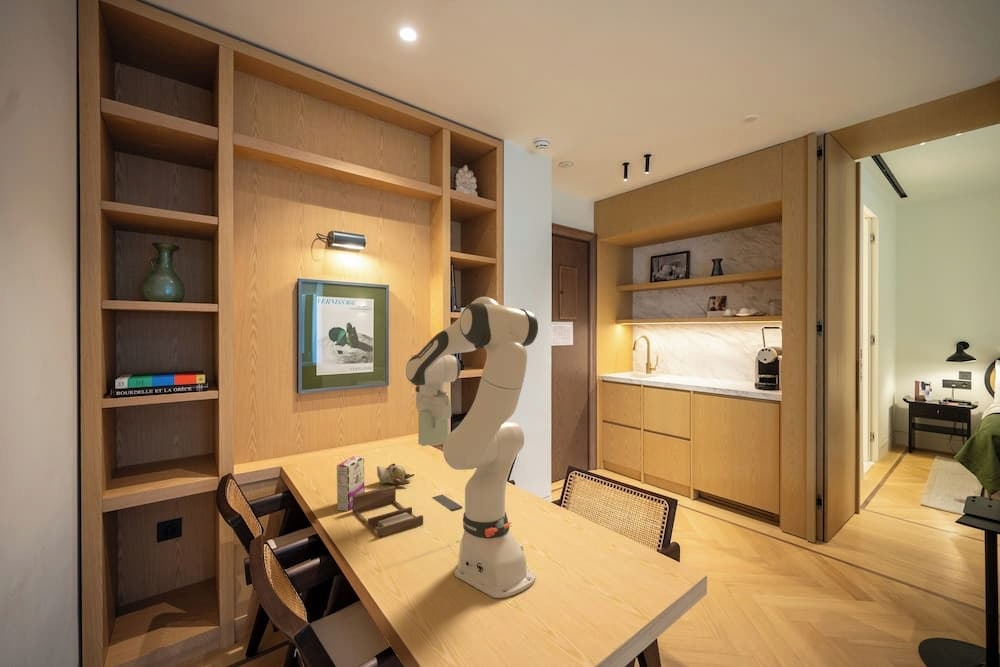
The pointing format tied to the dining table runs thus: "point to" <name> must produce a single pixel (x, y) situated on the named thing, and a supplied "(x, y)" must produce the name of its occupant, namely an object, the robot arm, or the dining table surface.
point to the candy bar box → (349, 482)
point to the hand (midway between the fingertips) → (433, 427)
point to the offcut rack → (378, 500)
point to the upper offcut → (394, 519)
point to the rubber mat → (447, 502)
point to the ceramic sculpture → (393, 475)
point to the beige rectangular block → (430, 429)
